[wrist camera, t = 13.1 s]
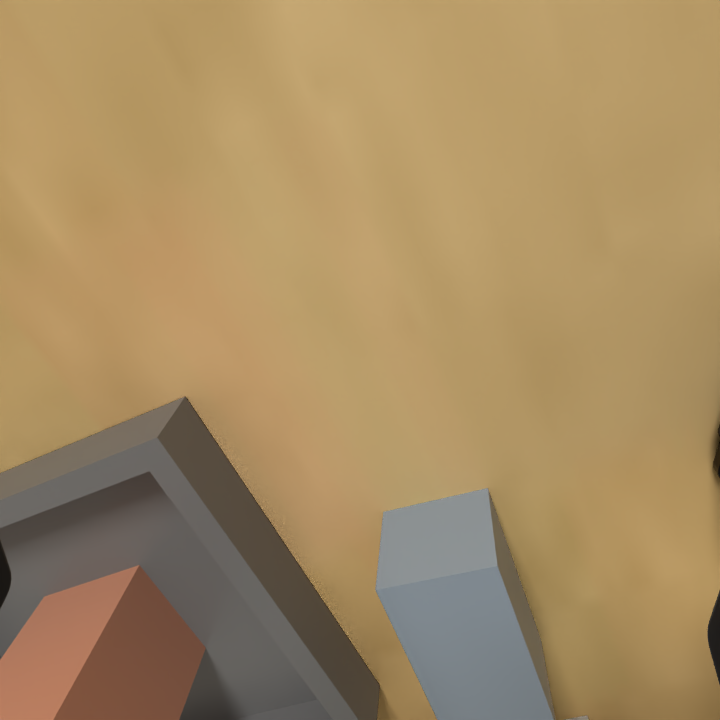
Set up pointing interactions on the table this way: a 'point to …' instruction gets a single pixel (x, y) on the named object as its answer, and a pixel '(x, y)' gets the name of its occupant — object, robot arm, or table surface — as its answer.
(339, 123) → the table surface
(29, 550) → the tray
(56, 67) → the table surface
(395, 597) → the slate brick
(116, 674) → the column
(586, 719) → the grey brick
